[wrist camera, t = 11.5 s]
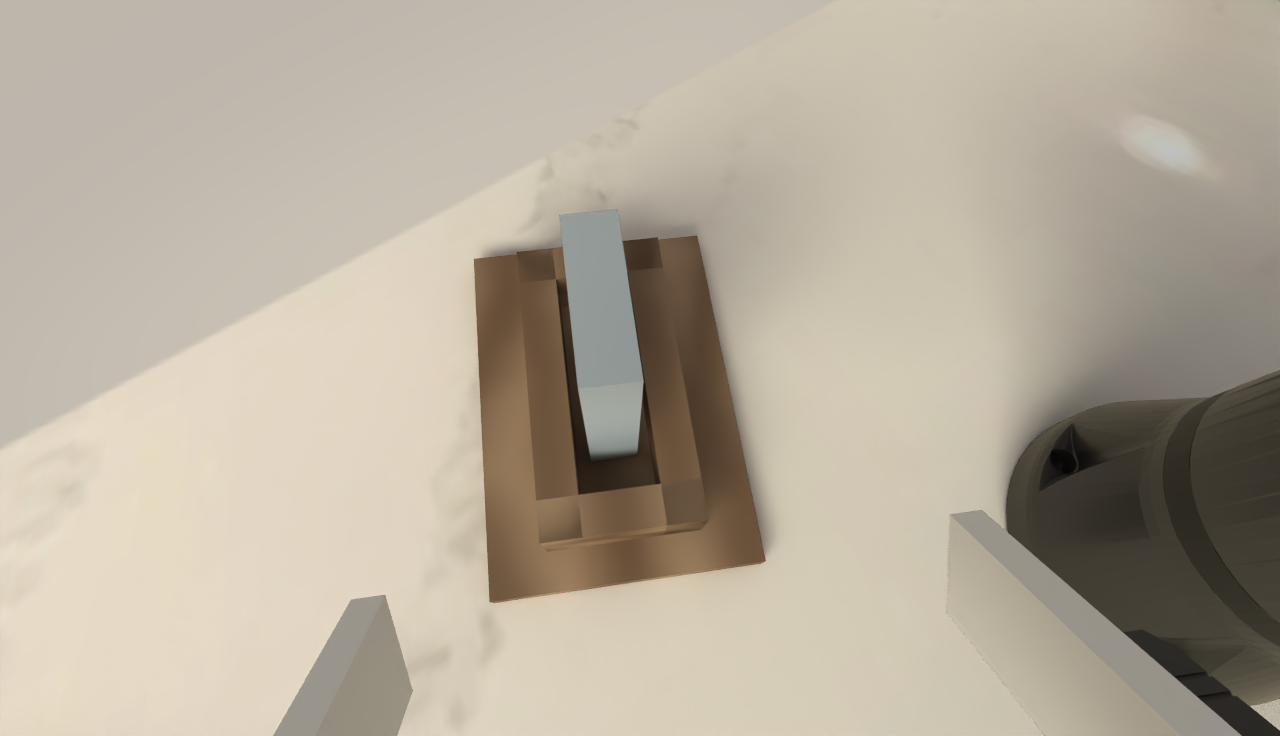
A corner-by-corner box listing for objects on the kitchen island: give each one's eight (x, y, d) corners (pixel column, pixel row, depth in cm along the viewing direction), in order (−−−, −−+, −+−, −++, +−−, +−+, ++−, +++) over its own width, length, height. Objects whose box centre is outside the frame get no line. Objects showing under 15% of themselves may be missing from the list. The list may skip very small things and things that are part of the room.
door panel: (618, 325, 37) (617, 209, 27) (637, 455, 34) (643, 381, 24) (576, 329, 37) (559, 215, 27) (591, 461, 34) (578, 388, 23)
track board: (695, 246, 41) (703, 203, 37) (760, 563, 33) (780, 554, 29) (478, 269, 39) (461, 228, 35) (494, 602, 32) (475, 598, 28)
